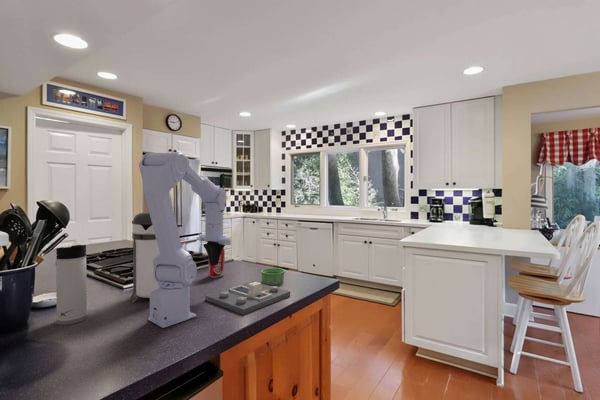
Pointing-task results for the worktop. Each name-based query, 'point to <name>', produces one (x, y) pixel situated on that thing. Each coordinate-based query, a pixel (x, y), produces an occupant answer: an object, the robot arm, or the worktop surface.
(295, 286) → the worktop surface
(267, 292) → the console panel
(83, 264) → the travel mug
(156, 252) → the coffee press
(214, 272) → the soda can
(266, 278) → the ramekin
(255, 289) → the fader tab
